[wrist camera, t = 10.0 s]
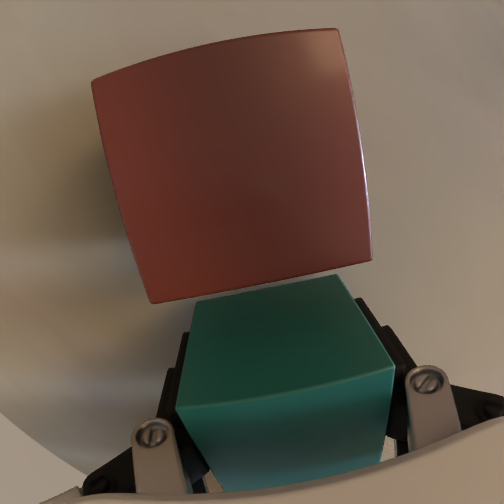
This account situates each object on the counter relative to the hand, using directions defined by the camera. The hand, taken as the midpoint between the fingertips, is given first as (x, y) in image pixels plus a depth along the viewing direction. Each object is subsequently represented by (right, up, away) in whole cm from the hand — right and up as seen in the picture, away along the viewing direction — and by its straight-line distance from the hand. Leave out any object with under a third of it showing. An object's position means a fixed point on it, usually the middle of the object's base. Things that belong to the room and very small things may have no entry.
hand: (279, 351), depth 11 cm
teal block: (0, 0, 0) cm, 0 cm away
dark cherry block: (-1, +7, -1) cm, 7 cm away
